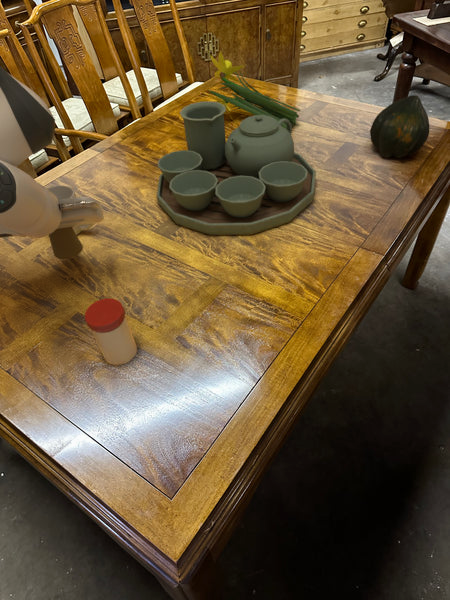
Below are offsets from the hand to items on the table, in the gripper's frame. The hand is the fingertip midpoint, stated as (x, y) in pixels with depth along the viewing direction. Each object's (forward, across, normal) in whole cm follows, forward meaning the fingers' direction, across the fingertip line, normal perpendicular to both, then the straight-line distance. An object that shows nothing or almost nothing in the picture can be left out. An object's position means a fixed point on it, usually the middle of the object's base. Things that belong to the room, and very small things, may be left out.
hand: (58, 225), depth 84 cm
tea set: (+20, -40, -6) cm, 45 cm away
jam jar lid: (-20, -10, +19) cm, 29 cm away
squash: (+24, -86, -11) cm, 90 cm away
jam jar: (-12, -10, +26) cm, 31 cm away
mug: (+15, +1, -1) cm, 15 cm away
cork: (+4, 0, +5) cm, 6 cm away
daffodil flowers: (+49, -54, -35) cm, 81 cm away
